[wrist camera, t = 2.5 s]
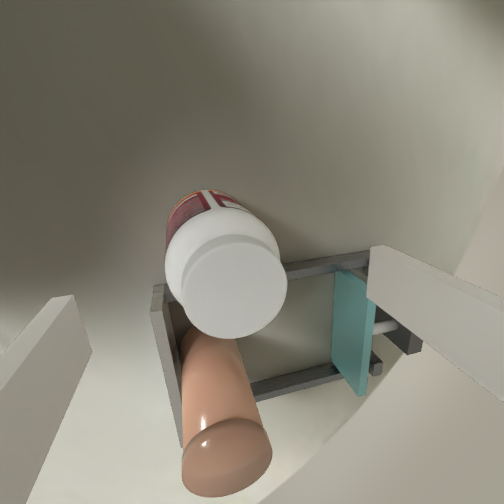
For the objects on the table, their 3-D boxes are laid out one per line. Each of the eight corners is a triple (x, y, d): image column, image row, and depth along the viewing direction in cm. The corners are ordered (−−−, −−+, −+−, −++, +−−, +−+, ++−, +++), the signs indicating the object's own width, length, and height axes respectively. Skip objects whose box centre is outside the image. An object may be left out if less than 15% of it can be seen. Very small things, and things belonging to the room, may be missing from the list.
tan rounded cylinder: (184, 372, 26) (189, 508, 16) (175, 326, 24) (174, 448, 14) (238, 359, 27) (273, 479, 17) (233, 314, 25) (270, 420, 15)
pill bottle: (177, 271, 22) (178, 370, 12) (158, 195, 20) (140, 242, 10) (250, 255, 24) (306, 334, 14) (240, 182, 21) (298, 211, 11)
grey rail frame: (180, 408, 27) (181, 448, 24) (153, 286, 22) (149, 312, 19) (362, 360, 32) (387, 387, 28) (374, 249, 27) (405, 264, 23)
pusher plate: (330, 359, 30) (358, 396, 26) (335, 268, 26) (368, 293, 22) (380, 346, 32) (415, 380, 27) (392, 258, 28) (435, 279, 23)
